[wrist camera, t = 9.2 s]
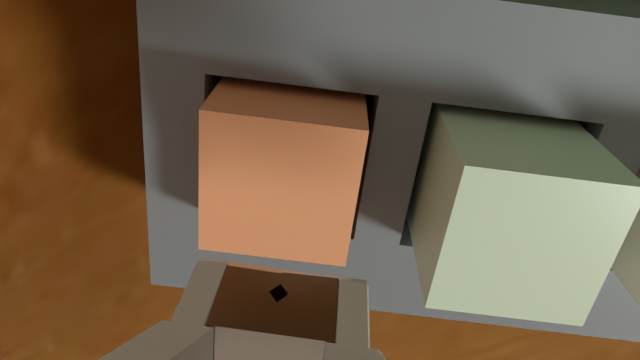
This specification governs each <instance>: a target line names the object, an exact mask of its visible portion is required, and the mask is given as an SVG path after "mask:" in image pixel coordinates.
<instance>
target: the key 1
mask: <svg viewBox="0 0 640 360" xmlns="http://www.w3.org/2000/svg"><path fill="white" fill-rule="evenodd" d="M368 135H369V125H368V116H367V107H366V98H365V94H362V93H354V92H346V91H338V90H330V89H322V88H314V87H306V86H298V85H290V84H282V83H274V82H266V81H258V80H250V79H242V78H234V77H226V76H223V77H222V78H221V80H220V81H219V83H218V84H217V85H216V87H215V88H214V90H213V91H212V92H211V94H210V95H209V96H208V98H207V99H206V101H205V102H204V103H203V105H202V106H201V108H200V109H199V205H198V249H201V250H209V251H217V252H226V253H234V254H243V255H251V256H259V257H268V258H276V259H284V260H293V261H301V262H309V263H318V264H326V265H335V266H343V267H346V261H347V255H348V249H349V244H350V238H351V232H352V227H353V221H354V215H355V209H356V204H357V198H358V192H359V186H360V181H361V175H362V169H363V163H364V158H365V152H366V146H367V141H368Z"/></svg>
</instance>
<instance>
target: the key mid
mask: <svg viewBox="0 0 640 360" xmlns="http://www.w3.org/2000/svg"><path fill="white" fill-rule="evenodd" d="M639 209H640V179H639V178H638V177H636V176H635V175H634V174H633V173H632V172H631V171H630V170H629V169H628V168H627V167H626V166H625V165H623V164H622V163H621V162H620V161H619V160H618V159H617V158H616V157H615V156H614V155H613V154H611V153H610V152H609V151H608V150H607V149H606V148H605V147H604V146H603V145H602V144H601V143H600V142H598V141H597V140H596V139H595V138H594V137H593V136H592V135H591V134H590V133H589V132H588V131H586V130H585V129H584V128H583V127H582V126H581V125H580V124H579V123H578V122H577V121H576V120H569V119H561V118H553V117H545V116H537V115H529V114H521V113H513V112H505V111H497V110H489V109H481V108H473V107H465V106H458V105H450V104H442V103H434V102H432V106H431V110H430V114H429V119H428V123H427V127H426V132H425V136H424V140H423V145H422V149H421V153H420V158H419V162H418V166H417V171H416V175H415V179H414V184H413V188H412V192H411V197H410V201H409V205H408V209H407V214H406V216H407V221H408V226H409V231H410V236H411V241H412V246H413V251H414V256H415V261H416V266H417V271H418V276H419V280H420V285H421V290H422V295H423V300H424V305H425V308H431V309H440V310H448V311H456V312H465V313H473V314H482V315H490V316H499V317H507V318H515V319H524V320H532V321H541V322H549V323H558V324H566V325H575V326H583V325H584V323H585V320H586V318H587V316H588V314H589V312H590V310H591V308H592V306H593V304H594V302H595V300H596V298H597V296H598V294H599V291H600V289H601V287H602V285H603V283H604V281H605V279H606V277H607V275H608V273H609V271H610V269H611V267H612V265H613V262H614V260H615V258H616V256H617V254H618V252H619V250H620V248H621V246H622V244H623V242H624V240H625V238H626V236H627V233H628V231H629V229H630V227H631V225H632V223H633V221H634V219H635V217H636V215H637V213H638V211H639Z"/></svg>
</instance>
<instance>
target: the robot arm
mask: <svg viewBox="0 0 640 360" xmlns="http://www.w3.org/2000/svg"><path fill="white" fill-rule="evenodd" d="M99 360H386V359H385V357H384V356H383V355H382V353H381V352H380V351H379V350H376V349H370V331H369V295H368V282H367V281H366V280H363V279H354V278H345V277H339V278H338V277H330V276H322V275H315V274H307V273H299V272H292V271H284V270H279V269H273V268H267V267H260V266H254V265H248V264H241V263H235V262H227V261H220V260H213V259H206V258H201V259H200V260H199V261H198V262H197V264H196V266H195V268H194V270H193V272H192V275H191V277H190V279H189V281H188V283H187V285H186V288H185V290H184V292H183V294H182V296H181V299H180V301H179V303H178V305H177V307H176V310H175V312H174V314H173V316H172V318H171V320H170V321H163V320H161V321H160V322H158V323H156V324H155V325H153V326H152V327H150V328H148V329H147V330H145V331H143V332H142V333H140V334H139V335H137V336H135V337H134V338H132V339H131V340H129V341H127V342H126V343H124V344H123V345H121V346H119V347H118V348H116V349H115V350H113V351H111V352H110V353H108V354H107V355H105V356H103V357H102V358H100V359H99Z"/></svg>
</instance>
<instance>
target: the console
mask: <svg viewBox="0 0 640 360" xmlns="http://www.w3.org/2000/svg"><path fill="white" fill-rule="evenodd" d="M136 9H137V28H138V47H139V66H140V85H141V104H142V123H143V142H144V161H145V180H146V200H147V219H148V238H149V257H150V276H151V284H154V285H162V286H171V287H179V288H186V285H187V283H188V281H189V279H190V277H191V275H192V272H193V270H194V268H195V266H196V264H197V262H198V261H199V260H200V259H201V258H206V259H213V260H220V261H227V262H235V263H241V264H248V265H254V266H260V267H267V268H273V269H279V270H284V271H292V272H299V273H307V274H315V275H322V276H330V277H338V278H339V277H345V278H354V279H363V280H366V281H367V282H368V295H369V310H374V311H382V312H391V313H399V314H408V315H416V316H424V317H433V318H441V319H450V320H458V321H467V322H475V323H484V324H492V325H501V326H509V327H518V328H526V329H534V330H543V331H551V332H560V333H568V334H577V335H585V336H594V337H602V338H611V339H619V340H627V341H636V342H640V307H639V306H638V304H637V303H636V302H635V300H634V299H633V297H632V296H631V295H630V293H629V292H628V291H627V289H626V288H625V287H624V285H623V284H622V283H621V281H620V280H619V279H618V277H617V276H616V274H615V273H614V272H613V270H612V269H610V271H609V273H608V275H607V277H606V279H605V281H604V283H603V285H602V287H601V289H600V291H599V294H598V296H597V298H596V300H595V302H594V304H593V306H592V308H591V310H590V312H589V314H588V316H587V318H586V320H585V323H584V325H583V326H575V325H566V324H558V323H549V322H541V321H532V320H524V319H515V318H507V317H499V316H490V315H482V314H473V313H465V312H456V311H448V310H440V309H431V308H425V305H424V300H423V295H422V290H421V285H420V280H419V276H418V271H417V266H416V261H415V256H414V251H413V246H412V241H411V236H410V231H409V226H408V221H407V216H406V214H407V209H408V205H409V201H410V197H411V192H412V188H413V184H414V179H415V175H416V171H417V166H418V162H419V158H420V153H421V149H422V145H423V140H424V136H425V132H426V127H427V123H428V119H429V114H430V110H431V106H432V102H434V103H442V104H450V105H458V106H465V107H473V108H481V109H489V110H497V111H505V112H513V113H521V114H529V115H537V116H545V117H553V118H561V119H569V120H576V121H577V122H578V123H579V124H580V125H581V126H582V127H583V128H584V129H585V130H586V131H588V132H589V133H590V134H591V135H592V136H593V137H594V138H595V139H596V140H597V141H598V142H600V143H601V144H602V145H603V146H604V147H605V148H606V149H607V150H608V151H609V152H610V153H611V154H613V155H614V156H615V157H616V158H617V159H618V160H619V161H620V162H621V163H622V164H623V165H625V166H626V167H627V168H628V169H629V170H630V171H631V172H632V173H633V174H634V175H635V176H636V174H637V171H638V169H639V167H640V0H136ZM223 76H226V77H234V78H242V79H250V80H258V81H266V82H274V83H282V84H290V85H298V86H306V87H314V88H322V89H330V90H338V91H346V92H354V93H362V94H365V98H366V107H367V116H368V125H369V135H368V141H367V146H366V152H365V158H364V163H363V169H362V175H361V181H360V186H359V192H358V198H357V204H356V209H355V215H354V221H353V227H352V232H351V238H350V244H349V249H348V255H347V261H346V267H343V266H335V265H326V264H318V263H309V262H301V261H293V260H284V259H276V258H268V257H259V256H251V255H243V254H234V253H226V252H217V251H209V250H201V249H198V205H199V109H200V108H201V106H202V105H203V103H204V102H205V101H206V99H207V98H208V96H209V95H210V94H211V92H212V91H213V90H214V88H215V87H216V85H217V84H218V83H219V81H220V80H221V78H222V77H223Z"/></svg>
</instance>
